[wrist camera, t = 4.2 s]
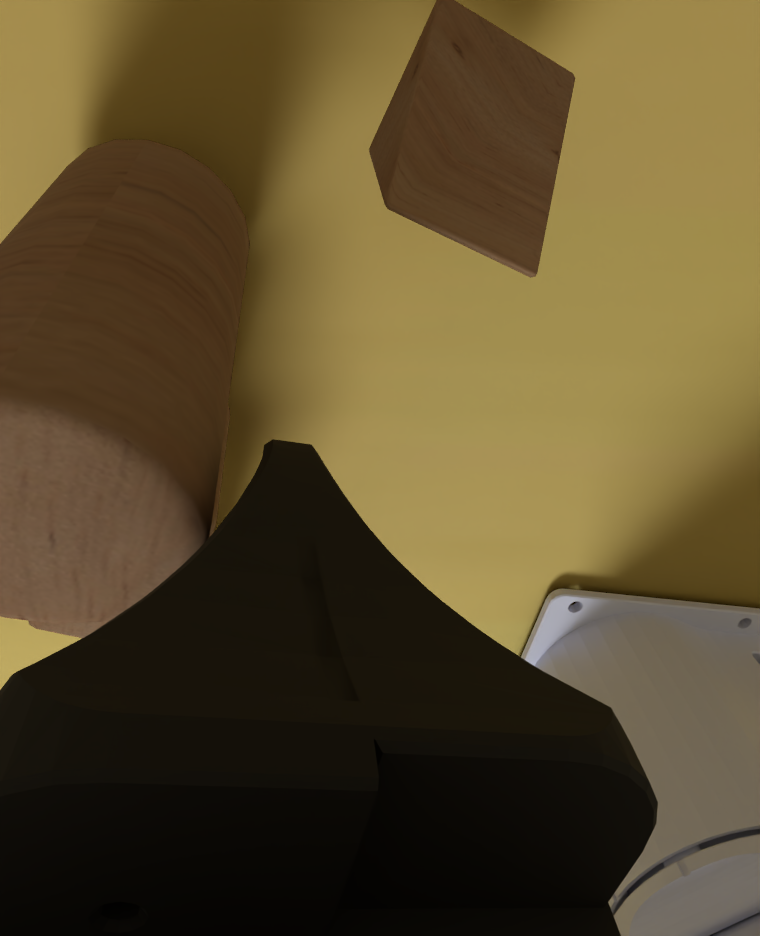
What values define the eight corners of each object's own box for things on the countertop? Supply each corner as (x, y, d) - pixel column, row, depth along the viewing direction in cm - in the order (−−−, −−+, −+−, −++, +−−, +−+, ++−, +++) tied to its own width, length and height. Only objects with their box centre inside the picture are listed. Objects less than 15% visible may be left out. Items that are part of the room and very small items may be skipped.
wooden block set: (254, 590, 25) (234, 922, 17) (-15, 523, 22) (-196, 888, 14) (550, 59, 15) (837, 237, 7) (143, -191, 12) (-154, -372, 4)
